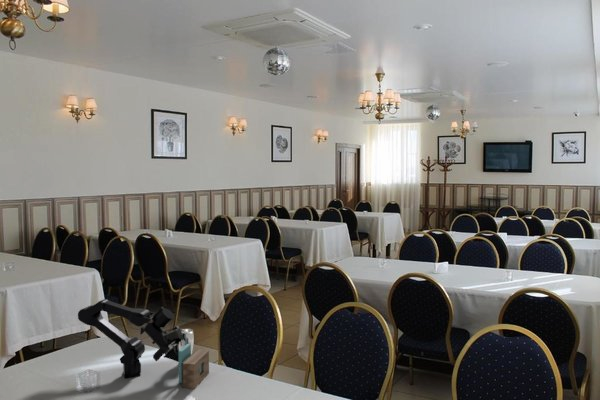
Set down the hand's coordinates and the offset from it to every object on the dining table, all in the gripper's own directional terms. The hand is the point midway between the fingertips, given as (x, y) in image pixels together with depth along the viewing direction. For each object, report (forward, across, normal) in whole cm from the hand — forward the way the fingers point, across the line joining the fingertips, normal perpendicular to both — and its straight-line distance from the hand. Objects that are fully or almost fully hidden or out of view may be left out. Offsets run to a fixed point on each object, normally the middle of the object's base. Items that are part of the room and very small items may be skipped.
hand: (182, 362), depth 216 cm
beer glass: (+1, +16, +9) cm, 19 cm away
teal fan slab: (+7, 0, +2) cm, 8 cm away
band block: (+9, 0, +1) cm, 9 cm away
